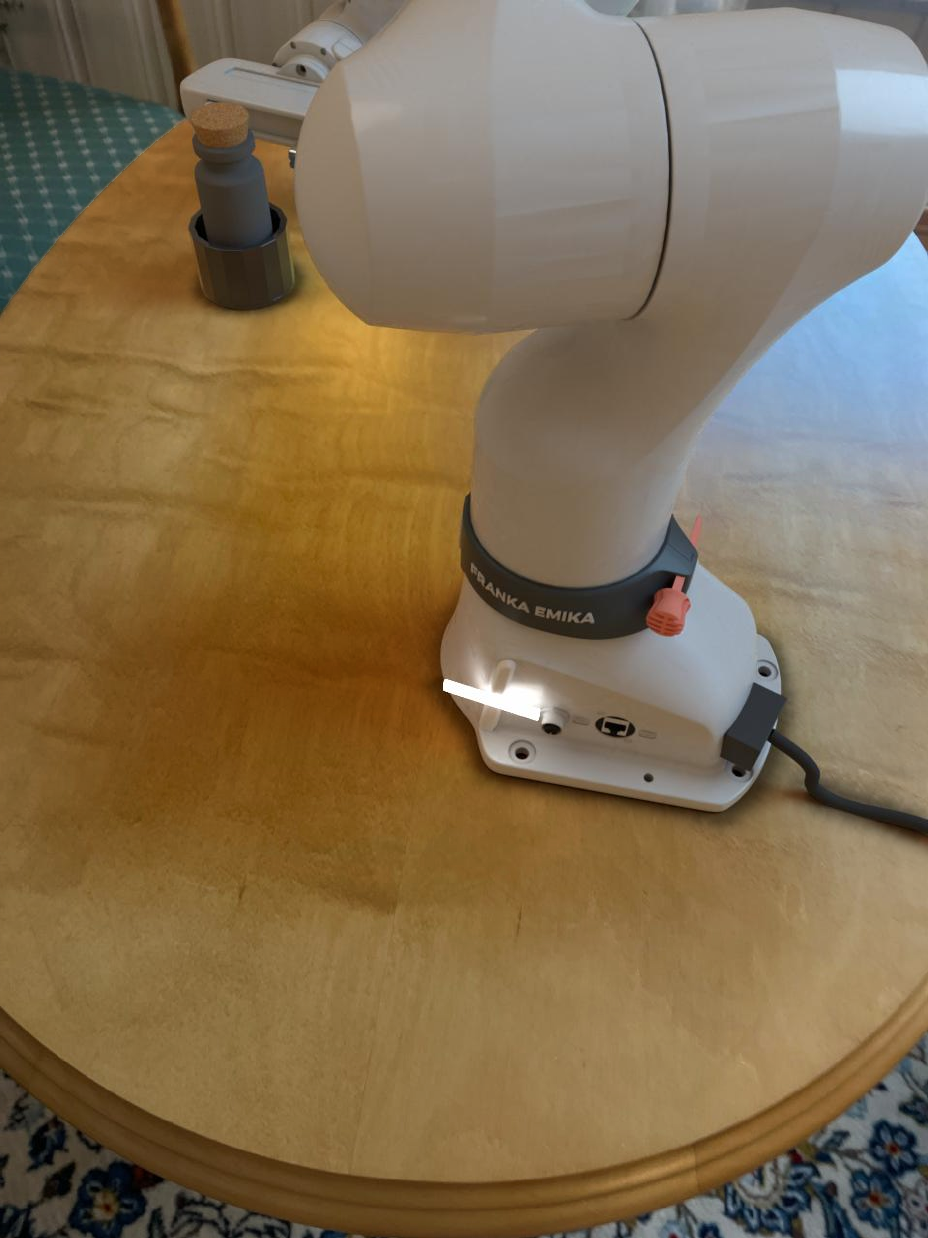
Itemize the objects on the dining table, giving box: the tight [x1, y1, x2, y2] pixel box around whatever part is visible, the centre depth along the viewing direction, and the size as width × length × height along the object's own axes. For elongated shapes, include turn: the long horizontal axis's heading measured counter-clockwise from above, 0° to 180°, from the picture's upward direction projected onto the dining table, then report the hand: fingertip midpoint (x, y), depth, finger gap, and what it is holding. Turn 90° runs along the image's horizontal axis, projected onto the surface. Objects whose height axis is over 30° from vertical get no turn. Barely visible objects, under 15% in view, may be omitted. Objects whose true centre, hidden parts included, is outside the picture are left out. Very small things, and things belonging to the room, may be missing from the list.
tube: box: [187, 201, 296, 311], centre depth 89 cm, size 9×9×6 cm
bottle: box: [190, 102, 273, 247], centre depth 85 cm, size 6×6×15 cm
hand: (248, 150), depth 85 cm, fingers open, 8 cm apart
